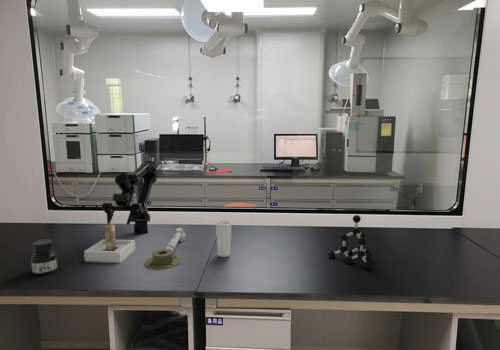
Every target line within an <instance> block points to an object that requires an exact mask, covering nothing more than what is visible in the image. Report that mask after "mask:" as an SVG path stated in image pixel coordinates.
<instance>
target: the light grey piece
mask: <svg viewBox="0 0 500 350" xmlns="http://www.w3.org/2000/svg"><path fill="white" fill-rule="evenodd" d="M174 233H175V234H174V235H173V236H172V237H171V239H170V241H169V242H168V244H167V245H165V246H164V249H169V250H172V251H173V253H174V252H176V251H175V249H176V248H177V246H178V243H182V242H183V241H185V239H186V238H185V237H186V233H185V232H184V230H183V228H182V227H178V228H176V229H175V231H174Z"/></svg>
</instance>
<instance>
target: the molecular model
mask: <svg viewBox="0 0 500 350" xmlns="http://www.w3.org/2000/svg"><path fill="white" fill-rule="evenodd" d="M352 221H353V222H354V223H355V224H354V227H353V228H352V229H351V230H352V231H351V232H349V233H345V232H344V233H341V234H340V240H341V241H342V245H341V246H340V247H339V250H337V251H334V250H330V251H329V252H328V253H327V255H328V257H329V258H330V259H334V258H336V256H337V255H338V254H340V253H342V254H344V255H345V259H344V261H345V263H346V264H347V265H348V264H349V265H350V264H353V263H354V259H356V258H360V259H362V261H363V264H362V265H363V268H364V269H365V270H371V269H372V266H373V264H372V263H371V262H370V261H371V259H372V257H371V255H370V253H371V250H370V248H369V247H366V246H365V245H366V243H367V240H366V233H365V232H364V231H361V230H360V228H359V227H358V226H359V225H358V223H360V222H361V216H360V215H358V214H355V215H353V217H352ZM352 235H354V236H356V237H357V238H358V239H357V246H356V248H354V249H351V248H348V247H347V246H346V241H347V240H349V237H350V236H352ZM355 252H357V253H356V254H355V255H354V253H355Z"/></svg>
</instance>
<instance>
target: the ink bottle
mask: <svg viewBox="0 0 500 350" xmlns="http://www.w3.org/2000/svg"><path fill="white" fill-rule="evenodd" d="M32 251H33V254H32V255H31V257H30V262H31V270H32V271H31V272H32V274H33V275H35V276H43V275H45V276H46V275H48V274H53V273H54V272H56V271H57V270H58V268H59V265H58V264H59V263H58V255H57V252H56V251H55V250H54V242H53V240H52V239H48V238H47V239H40V240H37V241H34V242H33V243H32Z"/></svg>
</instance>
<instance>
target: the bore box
mask: <svg viewBox="0 0 500 350" xmlns="http://www.w3.org/2000/svg"><path fill="white" fill-rule="evenodd" d="M115 243H116V250H115V251H106V240H105V239H101V240H99V241H97V243H95V244H93V245H92V246H90V247H89V248H87V249H85V250H84V252H83V253H84V254H83V256H84V262H86V263H89V262H90V263H111V264H113V263H114V264H115V263H116V264H118V263H119V264H120V263H122V262H123V261H124V260H126V258H127V257H128V258H129V256H130V255H131V254H132V253H134V251H136V240H135V239H115Z"/></svg>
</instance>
